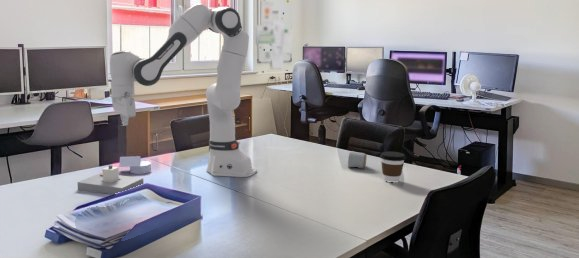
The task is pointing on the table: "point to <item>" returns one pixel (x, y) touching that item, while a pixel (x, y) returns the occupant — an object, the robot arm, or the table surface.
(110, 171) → the plug
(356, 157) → the grey rounded block
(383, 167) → the coffee cup
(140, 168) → the wedge on round base
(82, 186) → the socket plate
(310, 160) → the table surface
